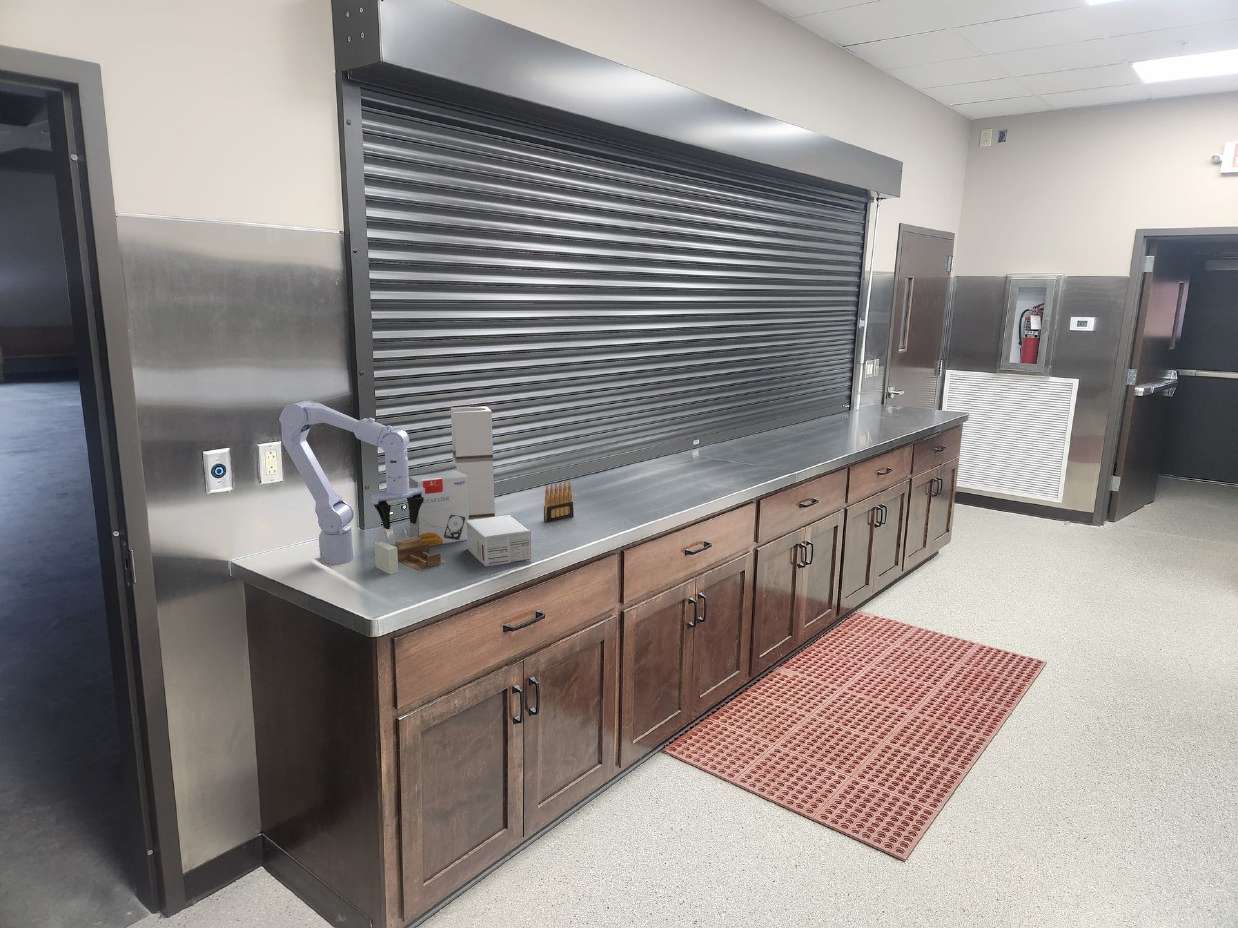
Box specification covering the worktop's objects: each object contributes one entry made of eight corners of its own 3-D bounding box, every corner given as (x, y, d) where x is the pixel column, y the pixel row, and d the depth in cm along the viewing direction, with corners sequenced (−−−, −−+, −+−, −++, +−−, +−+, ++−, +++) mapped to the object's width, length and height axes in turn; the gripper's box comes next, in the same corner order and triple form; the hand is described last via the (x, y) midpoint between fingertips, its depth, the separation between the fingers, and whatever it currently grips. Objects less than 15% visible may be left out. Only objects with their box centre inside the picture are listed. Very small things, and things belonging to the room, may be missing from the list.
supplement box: (466, 552, 223) (465, 519, 221) (511, 545, 229) (510, 514, 227) (485, 570, 208) (483, 535, 207) (532, 562, 214) (531, 529, 212)
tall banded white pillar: (489, 510, 265) (486, 406, 258) (495, 519, 255) (491, 410, 248) (455, 513, 262) (450, 408, 255) (458, 522, 252) (454, 412, 245)
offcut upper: (396, 548, 216) (395, 541, 215) (415, 543, 220) (414, 536, 219) (402, 551, 213) (402, 543, 213) (421, 546, 218) (421, 538, 217)
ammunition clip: (547, 522, 252) (546, 485, 249) (543, 521, 253) (542, 484, 251) (573, 516, 259) (573, 480, 256) (570, 515, 260) (570, 479, 257)
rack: (389, 559, 216) (389, 546, 215) (419, 552, 222) (418, 539, 221) (418, 573, 205) (417, 559, 205) (448, 565, 211) (447, 551, 211)
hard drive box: (418, 550, 224) (414, 481, 220) (409, 543, 230) (406, 476, 226) (470, 541, 232) (468, 475, 228) (461, 535, 238) (458, 470, 234)
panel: (375, 568, 208) (374, 543, 206) (384, 566, 209) (382, 541, 208) (390, 576, 202) (388, 549, 201) (398, 573, 204) (397, 547, 203)
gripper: (378, 482, 201) (382, 534, 203) (429, 473, 210) (432, 523, 213) (365, 477, 206) (369, 528, 208) (416, 469, 215) (418, 518, 218)
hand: (400, 525), depth 211 cm, fingers open, 7 cm apart
